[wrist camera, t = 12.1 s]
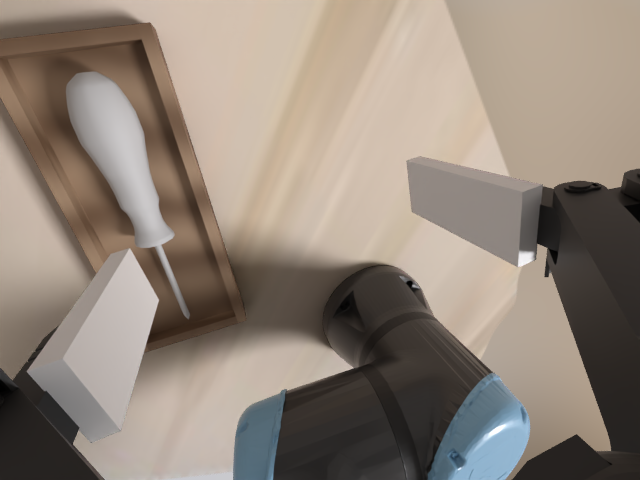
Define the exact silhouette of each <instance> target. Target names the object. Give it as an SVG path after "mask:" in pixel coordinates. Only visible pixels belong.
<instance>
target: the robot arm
mask: <svg viewBox="0 0 640 480" xmlns="http://www.w3.org/2000/svg"><path fill="white" fill-rule="evenodd" d="M407 170H408V180H409V190H410V199H411V209H412V212H413V213H415V214H417V215H419V216H421V217H423V218H425V219H427V220H428V221H430V222H432V223H434V224H436V225H438V226H440V227H442V228H444V229H446V230H448V231H449V232H451V233H453V234H455V235H457V236H459V237H461V238H463V239H465V240H467V241H469V242H471V243H472V244H474V245H476V246H478V247H480V248H482V249H484V250H486V251H488V252H490V253H492V254H494V255H495V256H497V257H499V258H501V259H503V260H505V261H507V262H509V263H511V264H513V265H515V266H517V267H520V266H522V265H525V264H527V263H529V262H532V261H534V260H536V254H537V244H540V245H542V246H544V247H547V248H548V249H547V258H546V267H545V277H548V276H549V273H552V275H553V278H554V281H555V284H556V287H557V290H558V293H559V295H560V298H561V301H562V304H563V307H564V310H565V313H566V316H567V318H568V321H569V324H570V327H571V330H572V332H573V335H574V338H575V341H576V344H577V347H578V350H579V352H580V355H581V358H582V361H583V364H584V367H585V369H586V372H587V375H588V378H589V381H590V384H591V387H592V390H593V392H594V395H595V398H596V401H597V404H598V406H599V409H600V412H601V415H602V418H603V421H604V424H605V426H606V429H607V432H608V436H609V439H610V444H611V451H597V452H596V451H594V450H593V449H592V448H591V447H590V446H589V445H588V444H587V443H586V442H585V441H583V440H582V439H581V438H580V437H579V436H578V435H574V436H573V437H571V438H569V439H567V440H566V441H563V442H562V443H560V444H558V445H556V446H554V447H552V448H551V449H549V450H547V451H545V452H543V453H542V454H540V455H538V456H536V457H534V458H532V459H531V460H529V461H527V462H526V464H525V465H524V466H523V467H522V469H521V470H520V471H519V472H518V473H517V475H516V476H515V477H514V478H513V479H512V480H640V169H635V170H630V171H628V172H626V173H624V177H623V181H622V186H621V187H619V188H614V189H607V188H606V187H605V186H603V185H601V184H599V183H593V182H586V181H574V182H568V183H563V184H559V185H557V186H556V187H554V189H552V188H547V187H543V185H541V184H537V183H533V182H529V181H525V180H520V179H516V178H512V177H507V176H503V175H499V174H494V173H490V172H486V171H481V170H477V169H473V168H468V167H464V166H460V165H455V164H451V163H447V162H442V161H438V160H434V159H429V158H425V157H421V156H420V157H417V158H413V159H410V160H407ZM158 302H159V299H158V297H157V296H156V294H155V292H154V290H153V288H152V287H151V285H150V283H149V281H148V279H147V278H146V276H145V274H144V272H143V270H142V269H141V267H140V265H139V263H138V262H137V260H136V258H135V256H134V254H133V253H132V251H131V249H130V248H128V249H125V250H122V251H119V252H115V253H112V254H110V256H109V257H108V258H107V260H106V261H105V263H104V264H103V265H102V267H101V268H100V270H99V271H98V272H97V274H96V275H95V277H94V278H93V279H92V281H91V282H90V284H89V285H88V286H87V288H86V289H85V291H84V292H83V293H82V295H81V296H80V298H79V299H78V300H77V302H76V303H75V305H74V306H73V307H72V309H71V310H70V312H69V313H68V314H67V316H66V317H65V319H64V320H63V321H62V323H61V324H60V325H59V326H58V327H56V328H55V329H54V330H53V331H52V332H51V333H50V334H48V335H47V336H46V337H45V338H44V339H43V340H42V342H41V343H40V344H39V346H38V347H37V349H36V352H34V353H33V354H32V355H31V357H30V358H29V359H28V362H26V363H25V365H24V366H23V367H22V369H21V370H20V371H19V373H18V374H17V375H16V377H15V378H14V379H13V381H12V380H11V379H10V378H9V377H8V376H7V375H6V374H5V373H4V372H3V370H2V369H1V368H0V480H105V479H104V478H103V477H102V476H101V475H100V474H99V473H98V472H97V471H96V469H95V468H94V467H93V466H92V465H91V464H90V463H89V462H88V461H87V459H86V458H85V457H84V456H83V455H82V454H81V453H80V452H79V451H78V450H77V448H76V447H75V446H74V445H73V442H74V439H75V437H76V435H77V432H78V430H80V431H81V432H82V434H83V435H84V436H85V437H86V438H87V439H88V440H89V441H90V442H91V443H92V442H95V441H97V440H100V439H102V438H105V437H107V436H109V435H112V434H114V433H117V432H119V431H121V429H122V425H123V422H124V419H125V415H126V412H127V408H128V405H129V401H130V398H131V395H132V391H133V388H134V384H135V381H136V377H137V374H138V370H139V367H140V364H141V360H142V357H143V353H144V350H145V346H146V343H147V340H148V336H149V333H150V329H151V326H152V322H153V319H154V315H155V312H156V309H157V305H158ZM323 328H324V332H325V335H326V337H327V339H328V341H329V343H330V345H331V347H332V348H333V350H334V351H335V352H336V353H337V354H338V355H339V356H340V357H341V358H342V359H344V360H345V361H346V362H347V363H348V364H350V365H351V366H352V367H353V368H354V369H351V370H348V371H345V372H342V373H339V374H336V375H333V376H330V377H327V378H324V379H321V380H318V381H315V382H312V383H309V384H306V385H303V386H300V387H297V388H294V389H291V390H288V391H287V390H286V389H284V390H282V391H281V392H280V393H279V394H277V395H274V396H272V397H269V398H267V399H264V400H262V401H259V402H257V403H254V404H252V405H251V406H249V407H248V408H247V409H246V410H245V411H244V412H243V414H242V415H241V417H240V419H239V422H238V425H237V430H236V436H235V446H234V464H233V480H505V479H506V478H507V476H508V475H509V474H510V473H511V471H512V470H513V469H514V467H515V466H516V464H517V463H518V461H519V459H520V458H521V456H522V454H523V452H524V450H525V447H526V445H527V442H528V439H529V434H530V421H529V417H528V413H527V411H526V409H525V408H524V406H523V405H522V403H521V402H520V401H519V400H518V399H517V398H516V397H515V396H514V395H513V394H512V393H511V392H510V390H509V389H508V388H507V387H506V386H505V385H504V384H503V382H502V381H501V379H500V377H499V376H498V375H496V374H495V373H493V372H492V371H491V370H490V369H489V368H488V367H486V366H485V365H484V364H483V363H482V362H481V361H480V360H479V359H478V358H477V357H476V356H475V355H474V354H473V353H472V352H471V351H469V350H468V349H467V348H466V347H465V346H464V345H463V344H462V343H461V342H460V341H459V340H458V339H457V338H456V337H455V336H454V335H453V334H451V333H450V332H449V331H448V330H447V329H446V328H445V327H444V326H443V325H442V324H441V323H440V322H439V321H438V320H437V319H436V318H435V317H434V315H433V313H432V311H431V309H430V307H429V304H428V302H427V300H426V298H425V296H424V293H423V291H422V289H421V288H420V286H419V285H418V284H417V282H416V281H415V280H413V279H412V278H411V277H410V276H409V275H408V274H407V273H405V272H404V271H402V270H401V269H398V268H396V267H392V266H374V267H370V268H366V269H363V270H361V271H359V272H357V273H355V274H353V275H352V276H350V277H349V278H347V279H346V280H345V281H344V282H342V283H341V284H340V285H339V286H338V287H337V289H336V290H335V291H334V292H333V294H332V295H331V297H330V298H329V300H328V302H327V304H326V307H325V310H324V315H323Z"/></svg>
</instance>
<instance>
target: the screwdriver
mask: <svg viewBox="0 0 640 480" xmlns="http://www.w3.org/2000/svg"><path fill="white" fill-rule="evenodd" d="M66 99H67V108H68V112H69V117H70V121H71V124H72V126H73V128H74V130H75V133H76V135H77V137H78V139H79V142H80V144H81V145H82V147H83V148H84V149H85V151H86V152H87V153H88V154H89V156H90V157H91V158H92V160H93V161H94V163H95V164H96V165H97V167H98V168H99V170H100V171H101V173H102V174H103V176H104V177H105V178H106V180H107V181H108V183H109V185H110V187H111V189H112V190H113V192H114V194H115V197H116V199H117V201H118V203H119V205H120V208H121V209H122V210H123V211H124V212H125V213H127V215H128V216H129V218H130V220H131V222H132V224H133V226H134V231H135V238H134V239H135V245H136V247H140V248H150V247H155V249H156V251H157V253H158V256H159V258H160V260H161V263H162V265H163V268H164V270H165V272H166V275H167V277H168V279H169V282H170V284H171V286H172V289H173V291H174V293H175V296H176V298H177V301H178V303H179V305H180V308H181V310H182V312H183V314H184V316H185V317H186V318H188V319H189V316H190V313H189V311H188V309H187V306H186V304H185V301H184V299H183V296H182V294H181V291H180V289H179V287H178V284H177V282H176V279H175V277H174V274H173V272H172V270H171V267H170V265H169V262H168V260H167V257H166V255H165V253H164V250H163V248H162V245H161V244H164V243H166V242H167V241H169V240H171V239H173V237H174V236H175V234H174V231H173V230H172V229H171V228H170V227H169V226H168V225H167V224H166V223H165V221H164V220H163V218H162V215H161V213H160V210H159V197H158V194H157V191H156V189H155V186H154V184H153V180H152V177H151V173H150V169H149V163H148V158H147V152H146V146H145V137H144V132H143V129H142V126H141V124H140V121H139V119H138V116H137V114H136V111H135V110H134V108H133V106H132V105H131V103H130V101H129V100H128V98H127V97H126V96H125V94H124V93H123V92H122V90H121V89H120V88H119V86H118V85H117V84H116V83H115V82H114V81H113V80H112V79H110V78H108V77H106V76H104V75H102V74H100V73H98V72H83V73H77V74H76V75H75V76H74V77H73V78H72V79H71V80H70V81H69V82H68V84H67V86H66Z"/></svg>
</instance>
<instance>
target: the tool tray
mask: <svg viewBox="0 0 640 480" xmlns="http://www.w3.org/2000/svg"><path fill="white" fill-rule="evenodd" d="M83 72H98V73H100V74H102V75H104V76H106V77H108V78H110V79H112V80H113V81H114V82H115V83H116V84H117V85H118V86H119V88H120V89H121V90H122V92H123V93H124V94H125V96H126V97H127V98H128V100H129V101H130V103H131V105H132V106H133V108H134V110H135V111H136V114H137V116H138V119H139V121H140V124H141V126H142V129H143V132H144V137H145V146H146V152H147V158H148V163H149V169H150V173H151V177H152V180H153V184H154V186H155V189H156V191H157V194H158V197H159V210H160V213H161V215H162V218H163V220H164V221H165V223H166V224H167V225H168V226H169V227H170V228H171V229H172V230H173V231H174V234H175V236H174V237H173V239H171V240H169V241H167V242H166V243H164V244H161V245H162V248H163V250H164V253H165V255H166V257H167V260H168V262H169V265H170V267H171V270H172V272H173V274H174V277H175V279H176V282H177V284H178V287H179V289H180V291H181V294H182V296H183V299H184V301H185V304H186V306H187V309H188V311H189V313H190V316H189V319H188V318H186V317H185V316H184V314H183V312H182V310H181V308H180V305H179V303H178V301H177V298H176V296H175V293H174V291H173V289H172V286H171V284H170V282H169V279H168V277H167V275H166V272H165V270H164V268H163V265H162V263H161V260H160V258H159V256H158V253H157V251H156V249H155V247H150V248H140V247H136V245H135V239H134V238H135V231H134V226H133V224H132V222H131V220H130V218H129V216H128V215H127V213H125V212H124V211H123V210H122V209H121V208H120V205H119V203H118V201H117V199H116V197H115V194H114V192H113V190H112V189H111V187H110V185H109V183H108V181H107V180H106V178H105V177H104V176H103V174H102V173H101V171H100V170H99V168H98V167H97V165H96V164H95V163H94V161H93V160H92V158H91V157H90V156H89V154H88V153H87V152H86V151H85V149H84V148H83V147H82V145H81V144H80V142H79V139H78V137H77V135H76V133H75V130H74V128H73V126H72V124H71V121H70V117H69V112H68V108H67V99H66V86H67V84H68V82H69V81H70V80H71V79H72V78H73V77H74V76H75V75H76V74H77V73H83ZM0 98H1V100H2V101H3V103H4V105H5V107H6V109H7V111H8V113H9V114H10V116H11V118H12V120H13V122H14V124H15V125H16V127H17V129H18V131H19V133H20V135H21V136H22V138H23V140H24V142H25V144H26V146H27V147H28V149H29V151H30V153H31V155H32V157H33V158H34V160H35V162H36V164H37V166H38V168H39V169H40V171H41V173H42V175H43V177H44V179H45V180H46V182H47V184H48V186H49V188H50V190H51V191H52V193H53V195H54V197H55V199H56V201H57V203H58V204H59V206H60V208H61V210H62V212H63V214H64V215H65V217H66V219H67V221H68V223H69V225H70V226H71V228H72V230H73V232H74V234H75V236H76V237H77V239H78V241H79V243H80V245H81V247H82V248H83V250H84V252H85V254H86V256H87V258H88V259H89V261H90V263H91V265H92V267H93V269H94V270H95V272H96V274H97V272H98V271H99V270H100V268H101V267H102V265H103V264H104V263H105V261H106V260H107V258H108V257H109V256H110V254H112V253H115V252H119V251H122V250H125V249H128V248H130V249H131V251H132V253H133V254H134V256H135V258H136V260H137V262H138V263H139V265H140V267H141V269H142V270H143V272H144V274H145V276H146V278H147V279H148V281H149V283H150V285H151V287H152V288H153V290H154V292H155V294H156V296H157V297H158V299H159V302H158V305H157V309H156V312H155V315H154V319H153V322H152V326H151V329H150V333H149V336H148V340H147V343H146V346H145V350H144V353H145V352H148V351H151V350H154V349H157V348H161V347H164V346H167V345H170V344H173V343H176V342H180V341H183V340H186V339H189V338H192V337H195V336H199V335H202V334H205V333H208V332H211V331H214V330H218V329H221V328H224V327H227V326H230V325H233V324H237V323H240V322H243V321H246V314H245V308H244V305H243V302H242V299H241V296H240V293H239V289H238V286H237V283H236V280H235V277H234V274H233V271H232V268H231V264H230V261H229V258H228V255H227V252H226V249H225V246H224V243H223V239H222V236H221V233H220V230H219V227H218V224H217V221H216V218H215V214H214V211H213V208H212V205H211V202H210V199H209V196H208V193H207V189H206V186H205V183H204V180H203V177H202V174H201V171H200V168H199V164H198V161H197V158H196V155H195V152H194V149H193V146H192V143H191V139H190V136H189V133H188V130H187V127H186V124H185V121H184V118H183V114H182V111H181V108H180V105H179V102H178V99H177V96H176V93H175V89H174V86H173V83H172V80H171V77H170V74H169V71H168V68H167V64H166V61H165V58H164V55H163V52H162V49H161V46H160V43H159V39H158V36H157V33H156V30H155V28H154V27H153V26H152V24H151V23H141V24H132V25H123V26H114V27H106V28H97V29H88V30H79V31H70V32H61V33H52V34H44V35H35V36H26V37H17V38H8V39H0Z"/></svg>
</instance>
